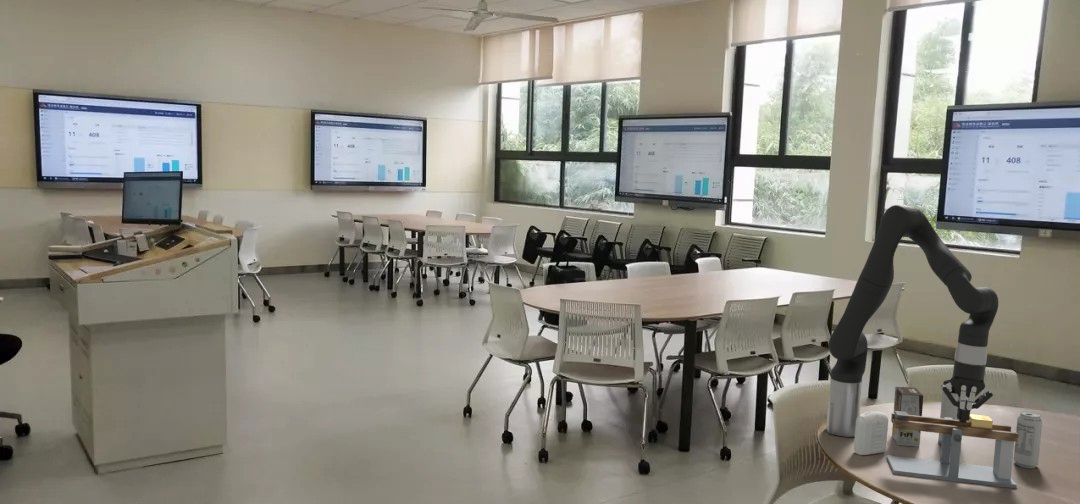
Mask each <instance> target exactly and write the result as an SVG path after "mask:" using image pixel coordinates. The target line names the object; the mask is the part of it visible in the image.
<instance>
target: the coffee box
mask: <svg viewBox="0 0 1080 504" xmlns="http://www.w3.org/2000/svg"><path fill="white" fill-rule="evenodd" d="M893 400H894V402H893V413H895V411H903V412H907V414H908V415H915V416H923V407H924V406H923V405H924V395H923V393H921V392H920V390H919V389H918V388H916V387H909V386H895V387H894V399H893ZM891 431H892V433H891V437H892V438H893V440H894V442H895V443H896V444H897V445H898V446H905V447H906V446H907V447H914V448H915V447H916V448H917V447H918V448H919V447H920V445H921V444H920V443H921V433H922V431H916V430H907V429H898V428H895V427H894V425H893V424H892V429H891Z"/></svg>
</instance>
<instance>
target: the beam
mask: <svg viewBox="0 0 1080 504" xmlns="http://www.w3.org/2000/svg"><path fill="white" fill-rule="evenodd" d="M890 421H891V423H892V426H893V425H894V427H895V428H898V429H907V430H916V431H921V432H925V433H926V432H927V433H935V434H939V433H943V434H950V435H951V436H952V428H955V429H961V430H962V437H972V438H982V439H988V440H996V439H997V440H1006V441H1014V443H1015V442H1018V433H1016V431H1015V432H1014V431H1012V426H1011V425H1009V424H1007V425H1006V424H998V423H993V424H992V430H988V429H979V428H970V427H967V422H966V423H963V422H960V421H959V420H953V419H943V418H940V417H933V416H925V415H924V416H923V415H922V416H915V415H908V414H907V412H903V411H895V413H894V412H891V419H890Z"/></svg>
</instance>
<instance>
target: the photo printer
mask: <svg viewBox="0 0 1080 504" xmlns="http://www.w3.org/2000/svg"><path fill="white" fill-rule="evenodd" d="M888 427H889V417H888V415H887V413H885V412H881V411H880V410H879V411H878V410H870V411H865V412H863V413H861V414H860V415H859V416H858V417H857V419H856V428H855V436H854V441H853V442H854V443H853V451H854V453H856V455H859V456H868V455H874V454H880V453H885V452H886V451H887V443H888V441H887V440H888V429H889V428H888Z"/></svg>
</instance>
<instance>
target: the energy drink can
mask: <svg viewBox="0 0 1080 504" xmlns="http://www.w3.org/2000/svg"><path fill="white" fill-rule="evenodd" d="M1042 428H1043V420H1042V419H1041V414H1039V413H1036V412H1033V411H1020V413H1019V415H1018V416H1017V418H1016V429H1015V432H1016V433H1018V442H1015V441H1014V449H1013V461H1014V462H1015V465H1016V466H1018V467H1021V468H1026V469H1036V467H1037V466H1039V461H1040V460H1039V458H1040V451H1041V441H1042V440H1041V439H1042V438H1041V437H1042V430H1043V429H1042Z"/></svg>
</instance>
